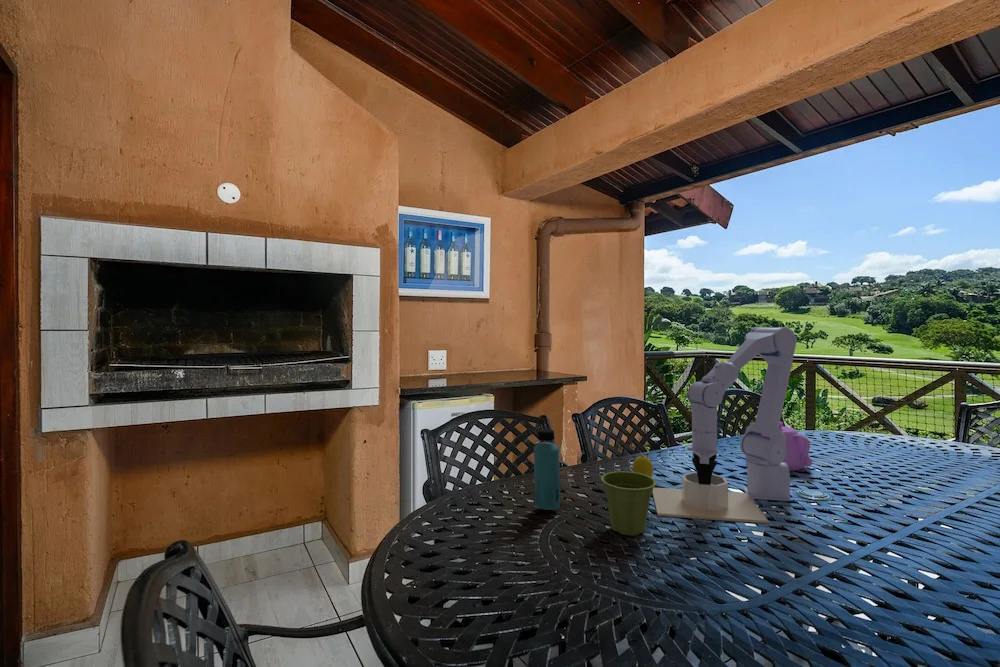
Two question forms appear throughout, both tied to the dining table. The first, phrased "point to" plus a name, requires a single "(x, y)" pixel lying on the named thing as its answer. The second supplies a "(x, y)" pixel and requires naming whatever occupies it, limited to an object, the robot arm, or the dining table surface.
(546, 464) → the beverage bottle
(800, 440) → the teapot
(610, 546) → the dining table surface
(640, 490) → the plant pot
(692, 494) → the press stand
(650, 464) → the lemon
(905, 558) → the dining table surface
